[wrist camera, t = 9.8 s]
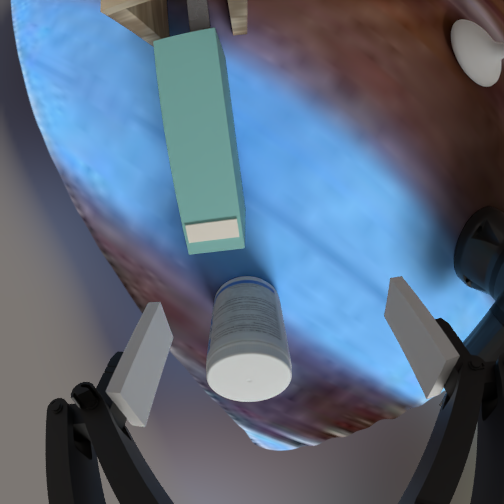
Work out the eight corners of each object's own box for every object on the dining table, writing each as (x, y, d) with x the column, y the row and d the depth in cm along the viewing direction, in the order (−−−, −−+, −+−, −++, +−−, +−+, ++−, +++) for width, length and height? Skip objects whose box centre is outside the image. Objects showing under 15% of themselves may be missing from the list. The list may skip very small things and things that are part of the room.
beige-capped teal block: (225, 57, 26) (214, 26, 16) (245, 209, 34) (244, 249, 24) (182, 64, 26) (152, 40, 16) (205, 214, 35) (188, 255, 24)
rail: (204, -22, 21) (204, -23, 21) (235, 209, 35) (234, 210, 35) (185, -19, 21) (185, -19, 21) (216, 212, 35) (215, 212, 35)
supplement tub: (201, 292, 40) (185, 370, 27) (257, 261, 38) (263, 337, 25) (238, 334, 44) (237, 411, 31) (291, 308, 42) (307, 386, 29)
